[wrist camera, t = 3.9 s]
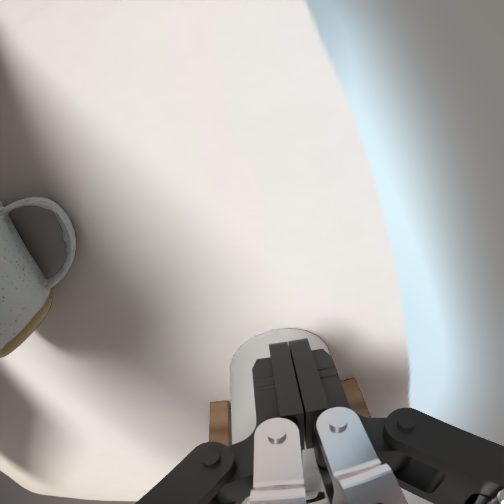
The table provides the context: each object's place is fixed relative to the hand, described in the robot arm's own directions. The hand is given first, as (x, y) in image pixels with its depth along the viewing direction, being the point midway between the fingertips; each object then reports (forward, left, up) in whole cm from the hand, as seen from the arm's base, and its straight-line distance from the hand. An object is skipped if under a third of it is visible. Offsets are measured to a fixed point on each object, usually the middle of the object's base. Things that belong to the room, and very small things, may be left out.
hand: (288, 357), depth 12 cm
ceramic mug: (-4, -17, -9) cm, 19 cm away
